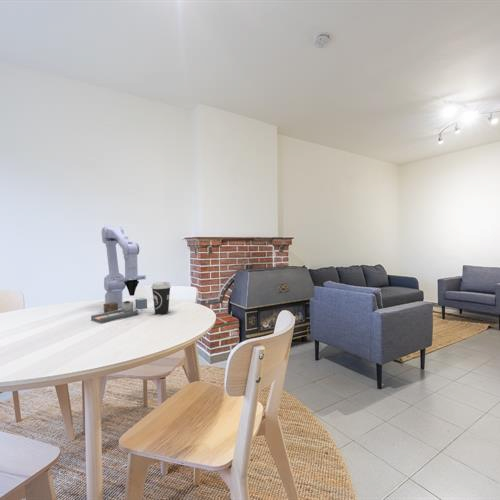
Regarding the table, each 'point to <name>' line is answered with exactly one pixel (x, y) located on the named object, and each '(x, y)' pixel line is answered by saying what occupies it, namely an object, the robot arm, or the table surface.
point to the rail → (112, 316)
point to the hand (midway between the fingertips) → (131, 295)
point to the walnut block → (110, 307)
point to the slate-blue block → (141, 303)
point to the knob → (126, 306)
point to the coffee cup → (161, 297)
